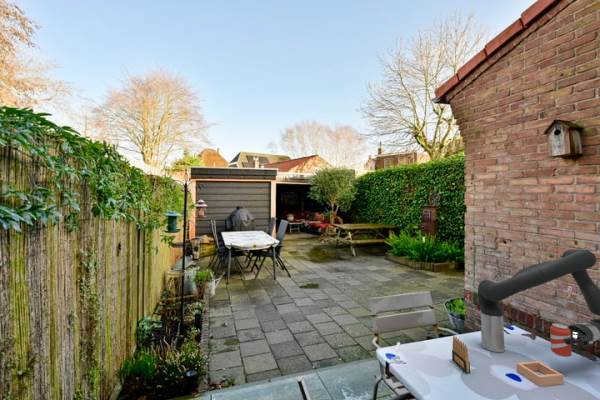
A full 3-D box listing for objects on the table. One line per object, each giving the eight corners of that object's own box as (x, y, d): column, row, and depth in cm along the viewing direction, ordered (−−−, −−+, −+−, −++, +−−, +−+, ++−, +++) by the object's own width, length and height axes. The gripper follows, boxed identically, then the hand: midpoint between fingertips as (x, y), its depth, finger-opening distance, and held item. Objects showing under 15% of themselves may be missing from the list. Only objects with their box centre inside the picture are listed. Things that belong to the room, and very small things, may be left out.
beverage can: (551, 349, 123) (550, 321, 123) (571, 354, 118) (570, 325, 119) (550, 354, 119) (549, 325, 119) (571, 359, 114) (570, 330, 115)
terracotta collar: (540, 386, 110) (539, 377, 110) (516, 371, 120) (516, 363, 120) (563, 384, 111) (563, 375, 111) (538, 369, 121) (538, 361, 121)
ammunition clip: (470, 373, 119) (469, 345, 120) (466, 373, 119) (464, 345, 120) (456, 360, 130) (454, 334, 130) (452, 360, 130) (450, 334, 130)
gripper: (563, 318, 130) (537, 322, 125) (604, 330, 116) (577, 336, 111) (564, 334, 129) (538, 339, 125) (605, 349, 116) (577, 355, 111)
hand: (556, 338), depth 118 cm, fingers closed on beverage can, 6 cm apart
